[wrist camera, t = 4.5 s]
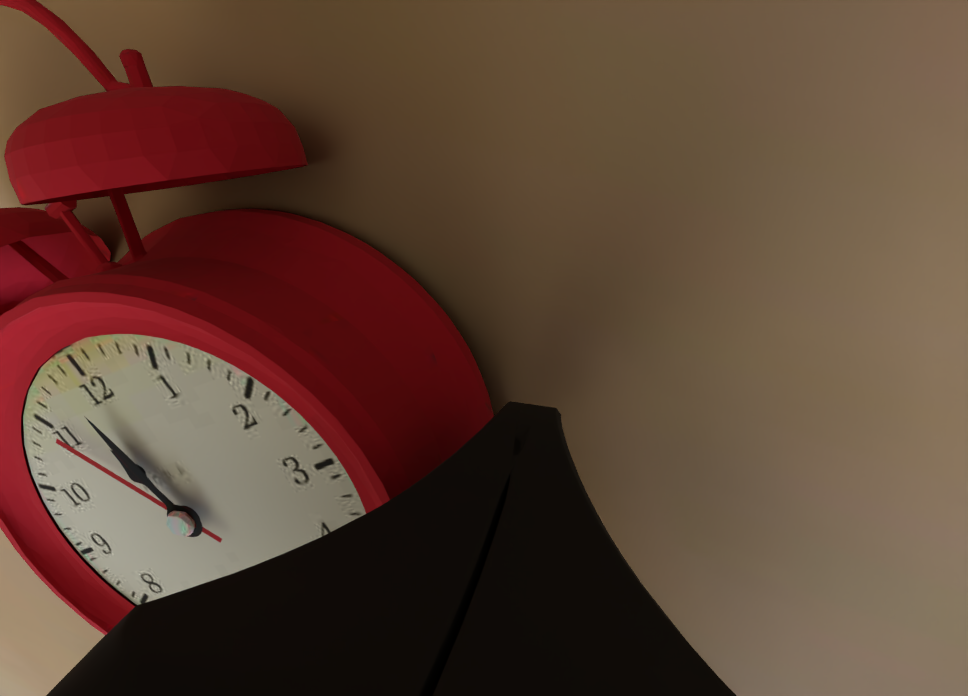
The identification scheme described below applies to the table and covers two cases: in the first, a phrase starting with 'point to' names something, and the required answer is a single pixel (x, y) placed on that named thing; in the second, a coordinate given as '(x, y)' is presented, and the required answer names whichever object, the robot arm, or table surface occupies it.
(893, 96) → the table surface
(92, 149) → the alarm clock
